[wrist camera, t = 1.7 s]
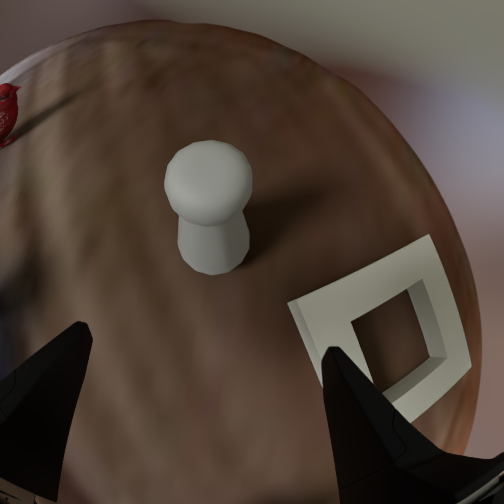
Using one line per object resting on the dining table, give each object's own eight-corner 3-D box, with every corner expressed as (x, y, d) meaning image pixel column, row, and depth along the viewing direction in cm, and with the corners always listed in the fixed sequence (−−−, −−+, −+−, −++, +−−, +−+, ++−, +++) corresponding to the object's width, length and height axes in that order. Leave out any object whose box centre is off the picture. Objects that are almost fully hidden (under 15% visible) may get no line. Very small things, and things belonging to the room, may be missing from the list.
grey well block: (346, 446, 20) (359, 457, 18) (287, 302, 24) (296, 299, 21) (454, 365, 24) (471, 366, 21) (412, 242, 27) (429, 233, 24)
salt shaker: (202, 206, 25) (190, 107, 13) (257, 234, 25) (291, 149, 13) (170, 260, 24) (121, 193, 11) (227, 291, 23) (233, 252, 11)
